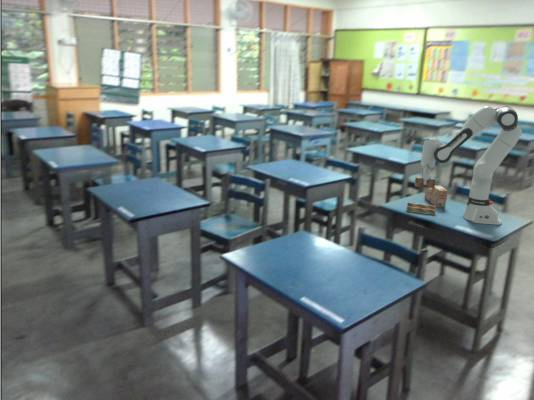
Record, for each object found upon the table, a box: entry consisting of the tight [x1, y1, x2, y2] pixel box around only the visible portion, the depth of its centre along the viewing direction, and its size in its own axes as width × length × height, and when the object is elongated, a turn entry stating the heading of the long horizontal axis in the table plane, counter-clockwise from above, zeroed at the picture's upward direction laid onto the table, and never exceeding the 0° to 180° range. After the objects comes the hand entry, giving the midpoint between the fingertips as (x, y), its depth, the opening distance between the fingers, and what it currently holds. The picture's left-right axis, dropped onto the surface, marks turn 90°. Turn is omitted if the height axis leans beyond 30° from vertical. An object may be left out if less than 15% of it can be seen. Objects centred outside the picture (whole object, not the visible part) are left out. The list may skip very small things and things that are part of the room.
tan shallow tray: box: [406, 202, 437, 216], centre depth 294 cm, size 18×10×3 cm, turn 70°
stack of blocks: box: [424, 184, 449, 208], centre depth 312 cm, size 21×6×12 cm, turn 3°
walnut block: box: [414, 176, 436, 189], centre depth 289 cm, size 12×4×6 cm, turn 78°
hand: (424, 183), depth 289 cm, fingers closed on walnut block, 4 cm apart
